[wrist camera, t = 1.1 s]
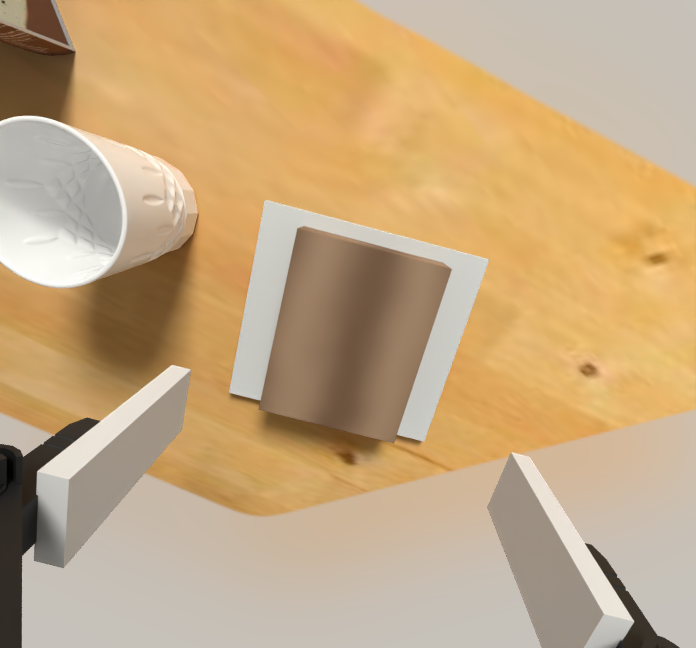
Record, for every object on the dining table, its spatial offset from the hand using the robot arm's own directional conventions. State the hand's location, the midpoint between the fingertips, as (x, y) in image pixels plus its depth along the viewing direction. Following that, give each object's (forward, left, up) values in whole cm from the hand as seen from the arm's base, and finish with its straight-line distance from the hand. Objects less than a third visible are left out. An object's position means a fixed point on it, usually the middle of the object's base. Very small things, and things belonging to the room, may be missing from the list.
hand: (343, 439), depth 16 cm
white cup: (-16, +5, -15) cm, 23 cm away
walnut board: (0, 0, -14) cm, 14 cm away
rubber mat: (0, 0, -15) cm, 15 cm away
